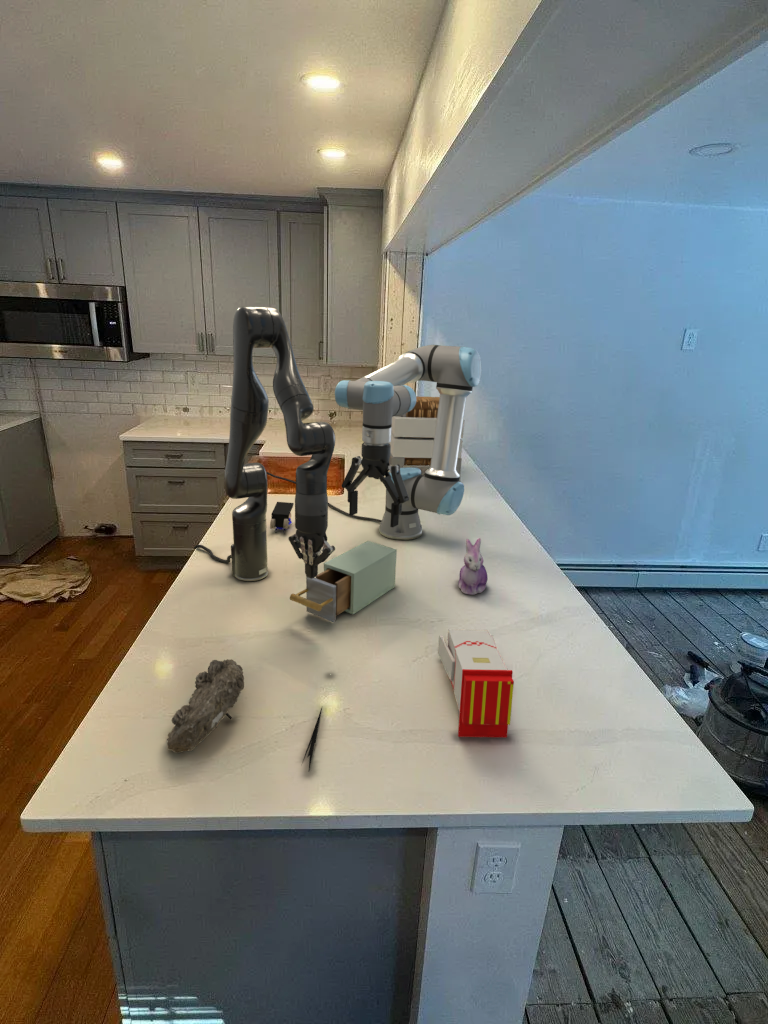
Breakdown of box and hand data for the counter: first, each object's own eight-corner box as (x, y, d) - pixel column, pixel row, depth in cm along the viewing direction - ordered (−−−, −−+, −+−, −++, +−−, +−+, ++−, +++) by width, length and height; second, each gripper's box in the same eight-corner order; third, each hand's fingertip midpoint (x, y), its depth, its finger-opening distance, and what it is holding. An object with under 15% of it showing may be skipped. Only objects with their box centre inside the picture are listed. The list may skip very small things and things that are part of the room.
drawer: (317, 632, 136) (317, 596, 132) (290, 620, 140) (289, 585, 137) (375, 594, 155) (377, 562, 151) (350, 585, 159) (350, 553, 156)
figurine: (469, 599, 156) (474, 549, 151) (448, 583, 165) (453, 535, 160) (496, 592, 161) (502, 544, 156) (475, 577, 169) (480, 531, 164)
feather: (331, 679, 122) (336, 673, 122) (307, 777, 96) (313, 769, 95) (324, 675, 122) (329, 669, 121) (298, 772, 95) (304, 764, 95)
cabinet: (353, 614, 146) (354, 573, 142) (323, 602, 151) (323, 563, 147) (394, 586, 162) (396, 549, 158) (366, 577, 167) (368, 540, 163)
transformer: (382, 463, 289) (386, 382, 275) (445, 464, 293) (451, 384, 279) (390, 482, 257) (394, 392, 243) (460, 483, 261) (468, 394, 247)
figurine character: (289, 539, 194) (294, 519, 208) (288, 519, 191) (294, 500, 204) (269, 538, 194) (276, 518, 208) (268, 518, 191) (275, 499, 204)
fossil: (192, 660, 117) (244, 628, 112) (224, 691, 120) (276, 661, 115) (142, 746, 98) (202, 712, 93) (182, 779, 101) (242, 748, 96)
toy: (488, 613, 130) (523, 677, 101) (484, 667, 133) (517, 744, 104) (435, 612, 130) (455, 676, 101) (432, 666, 133) (451, 743, 103)
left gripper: (278, 506, 131) (280, 574, 136) (323, 520, 124) (322, 590, 130) (300, 499, 136) (301, 564, 142) (344, 511, 130) (342, 579, 136)
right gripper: (329, 437, 150) (328, 513, 157) (409, 453, 137) (404, 535, 144) (346, 433, 156) (345, 506, 163) (425, 448, 143) (420, 526, 150)
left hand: (311, 576), depth 136 cm, fingers closed
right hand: (373, 519), depth 153 cm, fingers open, 13 cm apart
